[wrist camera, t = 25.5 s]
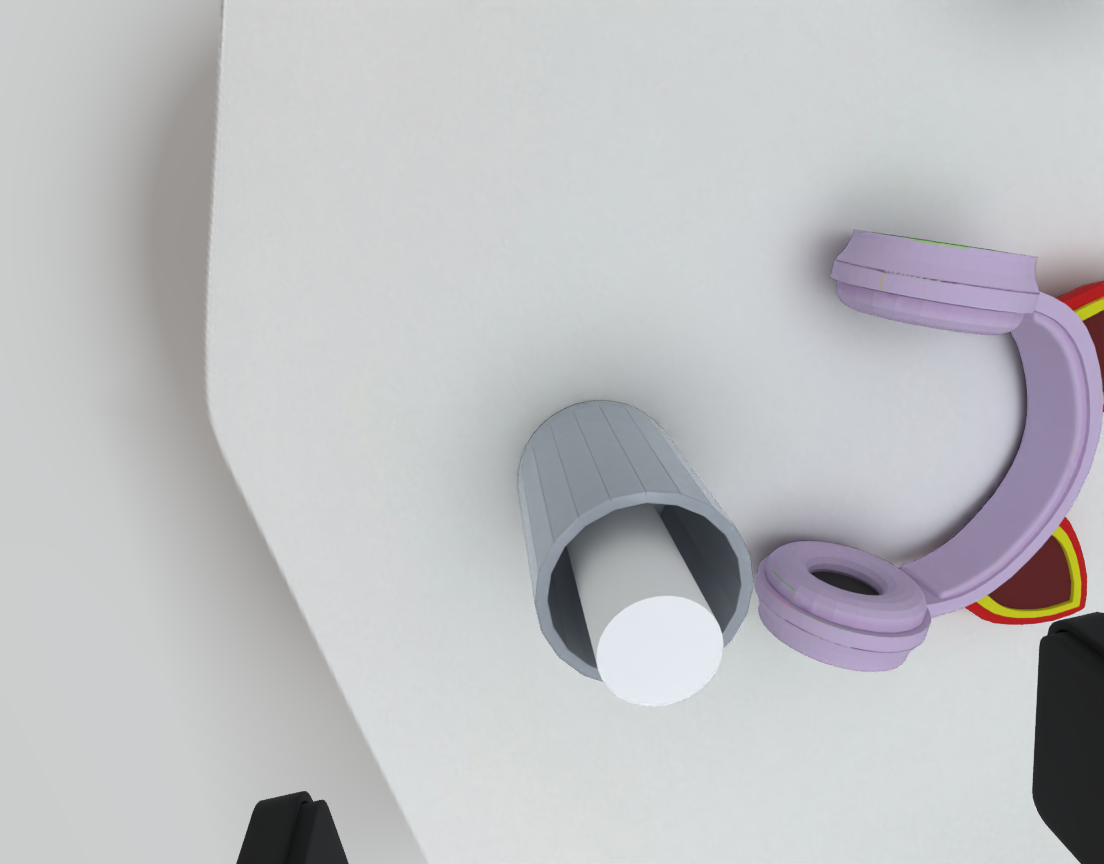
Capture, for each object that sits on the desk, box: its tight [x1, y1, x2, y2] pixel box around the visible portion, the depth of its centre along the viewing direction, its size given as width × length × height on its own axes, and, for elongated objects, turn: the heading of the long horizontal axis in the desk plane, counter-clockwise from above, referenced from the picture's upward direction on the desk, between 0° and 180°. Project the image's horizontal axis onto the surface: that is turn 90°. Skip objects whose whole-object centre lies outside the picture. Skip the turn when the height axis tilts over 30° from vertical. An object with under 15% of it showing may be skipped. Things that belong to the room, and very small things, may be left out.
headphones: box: [755, 230, 1104, 672], centre depth 38 cm, size 20×10×20 cm
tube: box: [567, 503, 724, 707], centre depth 33 cm, size 4×4×15 cm
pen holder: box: [518, 400, 753, 682], centre depth 35 cm, size 8×8×12 cm
